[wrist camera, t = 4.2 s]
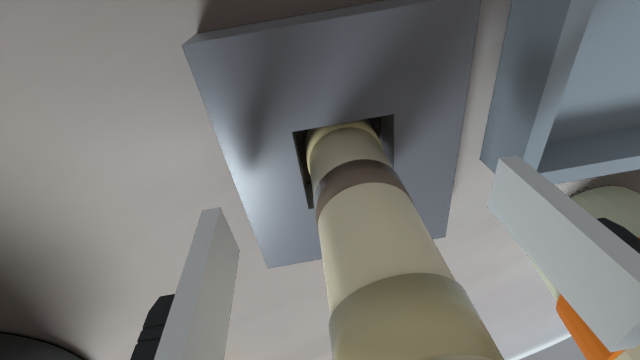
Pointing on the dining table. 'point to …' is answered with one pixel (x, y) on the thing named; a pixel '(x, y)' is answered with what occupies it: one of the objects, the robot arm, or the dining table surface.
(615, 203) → the reusable coffee cup
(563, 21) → the parts tray
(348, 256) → the cylinder
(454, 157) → the block
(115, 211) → the dining table surface
